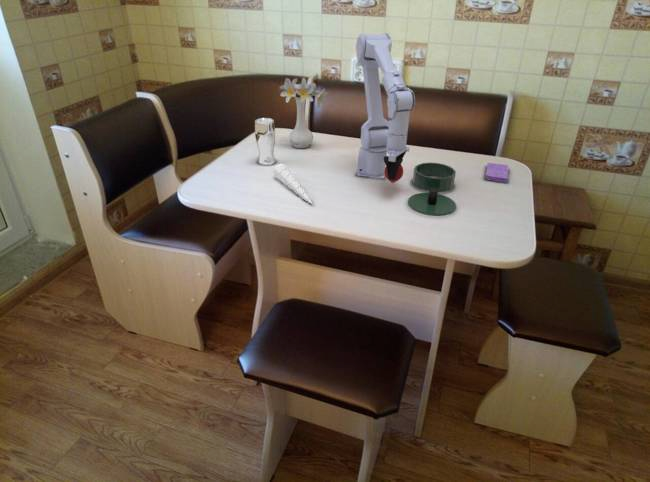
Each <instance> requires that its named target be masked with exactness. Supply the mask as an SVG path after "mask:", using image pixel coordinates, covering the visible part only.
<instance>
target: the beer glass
mask: <svg viewBox="0 0 650 482" xmlns="http://www.w3.org/2000/svg"><path fill="white" fill-rule="evenodd" d="M254 136H255V142H256V146H257V149H258V150H257V151H258V160H257V161H258V164H259V165H261V166H270V165H274V164H275V163H276V156H275V145H276V144H275V143H276V126H275V120H274V119H273V118H270V117H259V118H257V119H255V120H254Z"/></svg>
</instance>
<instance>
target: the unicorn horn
mask: <svg viewBox="0 0 650 482" xmlns="http://www.w3.org/2000/svg"><path fill="white" fill-rule="evenodd" d="M272 173H273V175H274V177H275V178H276V179H278V180H279V181H280V182H281V183H282V184H284V185H285V186H286V187H288V188H289V189H290V190H291V191H293V193H295V194H296V195H298V196H299V198H301V199H303V200H304V201H306V202H308V203H309V204H311V205H312V204H313V201H312V200H311V199H310V197H309V195H308V193H307V192H306V191H305V189H304V188H303V187H302V185H301V184H300V182H298V180H297V179H296V178H295V176H294V175H293V173H291V170H289V169H288V167H287V166H286V164H285V163H278V164H276V165H275V166H274V167H273V169H272Z"/></svg>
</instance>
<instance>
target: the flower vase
mask: <svg viewBox="0 0 650 482" xmlns="http://www.w3.org/2000/svg"><path fill="white" fill-rule="evenodd" d="M297 82H298V78H297V77H296V78H294V79H293V80H292V81H291V80H290V78H288V77H286V78H285V79H284V83H283V85H281V86H279V90H280V91H281V90H282V92H281V93H280V97H283V98H284V97H285V102H286V103H289V102H290V100H291V98H294V99H295V103H296V121H295V122H296V123H295V126H294V128H293V129H292V130H291V132H290V133H289V136H288V139H289V141H290V143H291V144H292V145H293V147H294V148H297V149H306V148H309V147H310V144H311V143H312V142H313V140H314V134H313V132H312V131H311V130H310V129H309V128H308V125H307V122H306V100H307V101H309V102H314V98H313V97H316V109H317V110H319V108H320V105H321V106H323V107H324V105H325V100H324V98H326V97H327V95H328V94H329V92H328V91H326V88H323V90H321V91H318V90H317V83H316V82H313V80H312V79H310V83H308V84H307V80H306V78H305V77H302V79H301V83H298V84H297Z"/></svg>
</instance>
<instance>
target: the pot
mask: <svg viewBox="0 0 650 482" xmlns="http://www.w3.org/2000/svg"><path fill="white" fill-rule="evenodd" d="M456 173H457V171H456V170H455V169H454V168H453V167H451V166H450V165H447V164H445V163H439V162H423V163H419V164H417V165H415V166H414V168H413V175H412V184H413V185H414V186H415V188H417V189H420V190H422V191H426V192H429V189H431V188H435V189H437V190H438V193H444V192H448V191H451V190H452V189H453V188H454V186H455V178H456Z"/></svg>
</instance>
